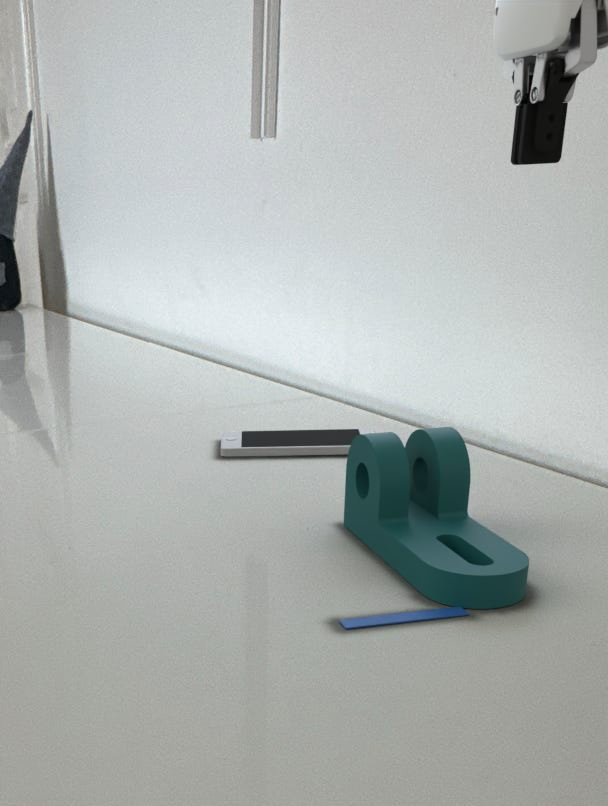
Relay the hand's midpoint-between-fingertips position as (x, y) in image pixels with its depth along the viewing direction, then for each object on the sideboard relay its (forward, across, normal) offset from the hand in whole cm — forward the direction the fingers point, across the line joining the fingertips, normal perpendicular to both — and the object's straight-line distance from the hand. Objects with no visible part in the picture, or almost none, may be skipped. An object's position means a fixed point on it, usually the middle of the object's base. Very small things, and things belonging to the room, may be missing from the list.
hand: (535, 163), depth 75 cm
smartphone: (+25, +18, +12) cm, 33 cm away
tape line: (+25, -24, +19) cm, 40 cm away
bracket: (+25, -15, +13) cm, 32 cm away
